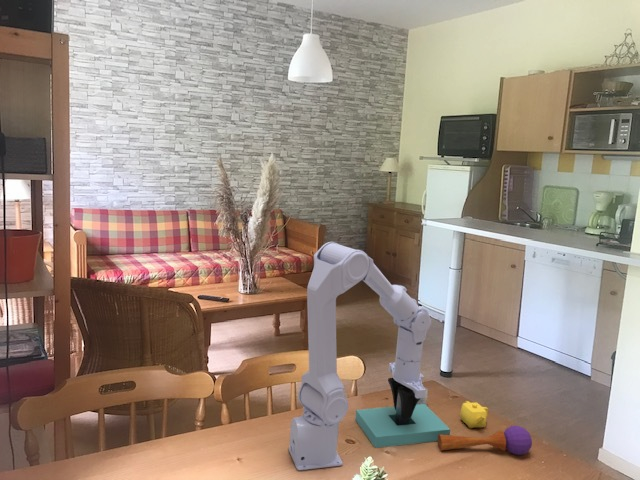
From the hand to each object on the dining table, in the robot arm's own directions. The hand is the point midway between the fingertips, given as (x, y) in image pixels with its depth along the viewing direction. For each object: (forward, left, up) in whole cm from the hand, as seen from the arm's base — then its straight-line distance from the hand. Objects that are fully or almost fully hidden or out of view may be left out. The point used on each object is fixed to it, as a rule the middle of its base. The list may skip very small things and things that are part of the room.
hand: (402, 413), depth 120 cm
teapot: (+19, -1, -4) cm, 20 cm away
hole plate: (0, 0, -4) cm, 4 cm away
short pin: (+10, +10, -4) cm, 15 cm away
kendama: (+14, -11, -4) cm, 19 cm away
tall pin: (0, 0, -3) cm, 3 cm away
